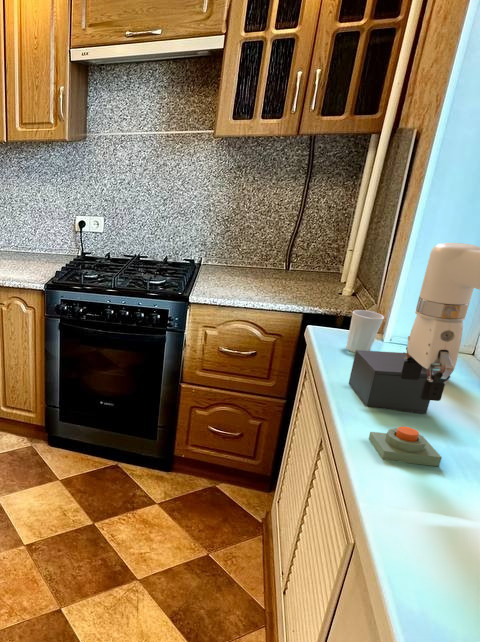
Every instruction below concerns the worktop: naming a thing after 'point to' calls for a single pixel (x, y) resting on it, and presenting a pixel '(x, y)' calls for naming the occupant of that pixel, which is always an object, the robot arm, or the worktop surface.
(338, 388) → the worktop surface
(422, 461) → the block
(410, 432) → the button
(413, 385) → the dark grey lidded box
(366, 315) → the cup
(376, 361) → the box lid
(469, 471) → the worktop surface
